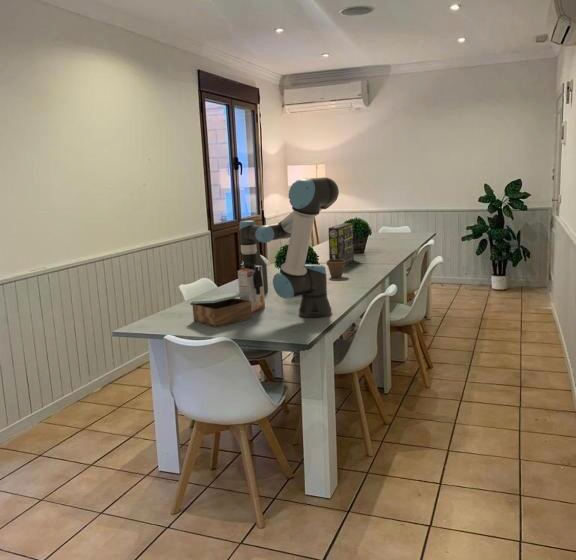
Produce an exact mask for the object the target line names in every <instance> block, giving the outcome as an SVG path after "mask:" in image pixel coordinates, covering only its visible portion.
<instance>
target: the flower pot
mask: <svg viewBox="0 0 576 560" xmlns="http://www.w3.org/2000/svg"><path fill="white" fill-rule="evenodd" d="M345 262H346V261H345V260H340V259H335V260H326V265H327V266H328V270H329V275H330V277H331V278H332V277H334V278H333V279H338V278H337V277H340V278H342V277H341V276H343V274H344V273H343V272H344V268H345V266H346V265H345Z"/></svg>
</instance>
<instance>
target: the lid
mask: <svg viewBox="0 0 576 560" xmlns="http://www.w3.org/2000/svg"><path fill="white" fill-rule="evenodd" d="M246 295H250V292H247V293H239V292H233V293H231V292H230V293H225V294H224V293H223V294H220V295H215V296H210V297H207V298H202V299H198V300H193V301H192V302H191V303H193V304H196V303H215V302H220V301H224V300H228V299H233V298H240V297H241V296H246Z"/></svg>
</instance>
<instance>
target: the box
mask: <svg viewBox="0 0 576 560" xmlns="http://www.w3.org/2000/svg"><path fill="white" fill-rule="evenodd" d="M328 251H329V252H328V257H329V260H335V259H340V260H345V261H346V262H345V265H344V266H346V265H348V264H350V263H352V262H353V261H354V260H355V259H354V257H355V256H354V252H355V251H354V223H352V222H350V223H349V222H348V223H347V222H346V223H345V222H343V223H341V224H337V225H334V226H331V227H328ZM352 260H353V261H352ZM349 262H350V263H349ZM347 263H348V264H347Z"/></svg>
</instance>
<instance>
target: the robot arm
mask: <svg viewBox="0 0 576 560" xmlns="http://www.w3.org/2000/svg"><path fill="white" fill-rule="evenodd" d="M339 192H340V191H339V187H338V184H337V183H336V181H334V180H333V179H332V178H330V177H325V176H324V177H322V176H321V177H312V178H308V177H307V178H305V177H304V178H301V179H297V180H296V181H294V182H293V183H292V184H291V186H290V187H289V190H288V199H289V204H290V205H291V210H292V211H291V212H290V213H289V214H288V215H287V216H286V217H284V218H283V219H282V220H280V221H279V222H277V223H271V224H270V223H269V224H264V225H256V221H255V220H241V221H239V229H238V230H239V239H240V240H239V241H240V253H241V262H243V263H241V264H239V270H241V269H244V268H248V269H253V270H255V272H254V274H253V281H254V285H255V287H254V296H255V302H256V301H260V287H262V286H263V283H262V276H261V266H257V264H256V261H257V253H256V252H257V247H256V242H258V243H263V244H264V243H270V242H271V241H275V240H276V241H277V240H284V239H288V238H289V241H288V247H287V252H286V257H285V262H284V263H282V264H281V265H280V269H279V270H280V271H279V272H276V274H275V275H274V276H273V278H272V286H273V287H272V288H273V289H274V292H275V293H276V295H277V296H279V298H281V299H285V300H286V299H292V298H295V297H299V296H300V297H301V299H300V304H299V308H298V315H299V316H300V317H303V318H311V319H312V318H314V319H315V318H322V317H326V316H330V315H331V314H332V312H333V311H332V307H331V304H330V300H329V299H328V291H327V290H328V287H327V285H328V284H327V270H326V267H325V266H324V265H323V264H314V263H313V264H312V263H306V260H307V256H308V251H309V247H310V246H309V245H310V242H311V237H312V233H313V232H312V231H313V227H314V224H315V223H314V222H315V218H316V217H317V216H318V215H319V214H320V212H321V211H322V210H327V209H329V208H330V207H331V206H332V205H333V204H335V202H336V201H337V200H338V198H339V194H340V193H339Z"/></svg>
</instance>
